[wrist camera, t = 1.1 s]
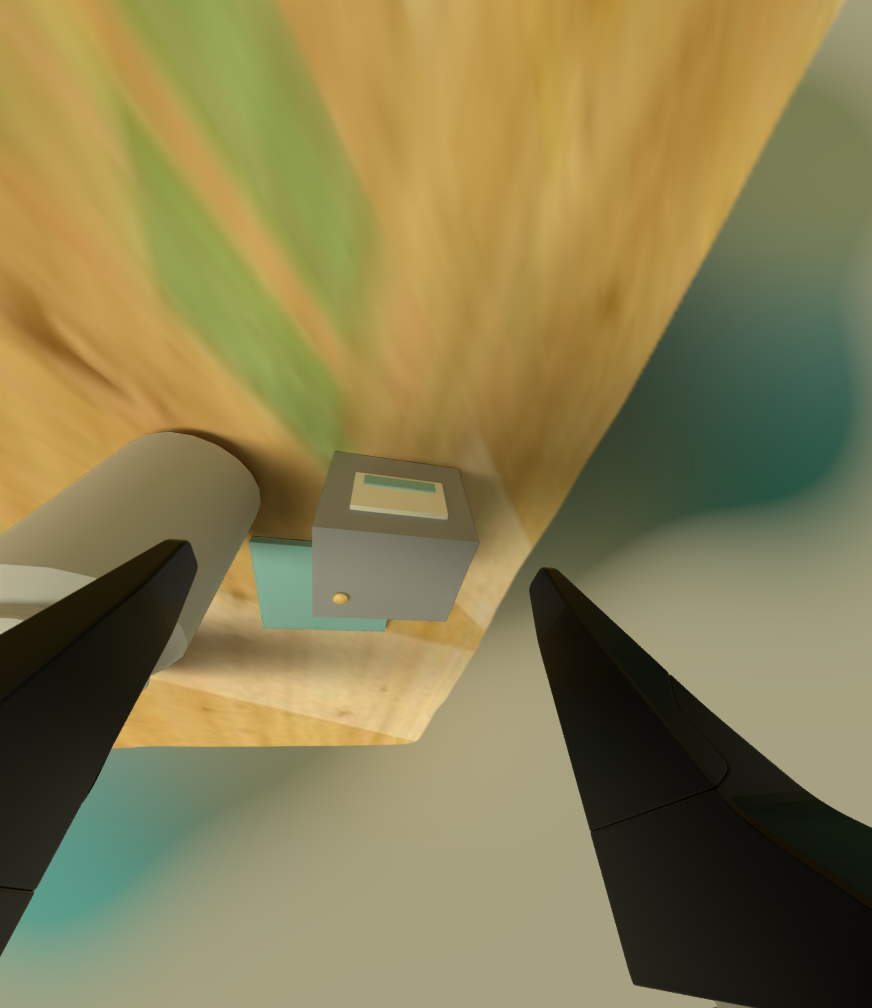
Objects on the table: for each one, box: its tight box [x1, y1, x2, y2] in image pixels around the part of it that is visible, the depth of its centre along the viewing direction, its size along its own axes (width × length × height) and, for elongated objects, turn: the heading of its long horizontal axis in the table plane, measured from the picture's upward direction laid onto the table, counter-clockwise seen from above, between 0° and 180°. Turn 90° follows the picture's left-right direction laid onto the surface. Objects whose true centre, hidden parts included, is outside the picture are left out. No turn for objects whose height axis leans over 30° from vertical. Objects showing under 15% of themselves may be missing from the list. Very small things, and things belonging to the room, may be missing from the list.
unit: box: [312, 451, 479, 622], centre depth 20 cm, size 7×8×7 cm
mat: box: [249, 536, 387, 632], centre depth 28 cm, size 11×11×1 cm
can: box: [0, 432, 261, 691], centre depth 16 cm, size 8×8×12 cm
